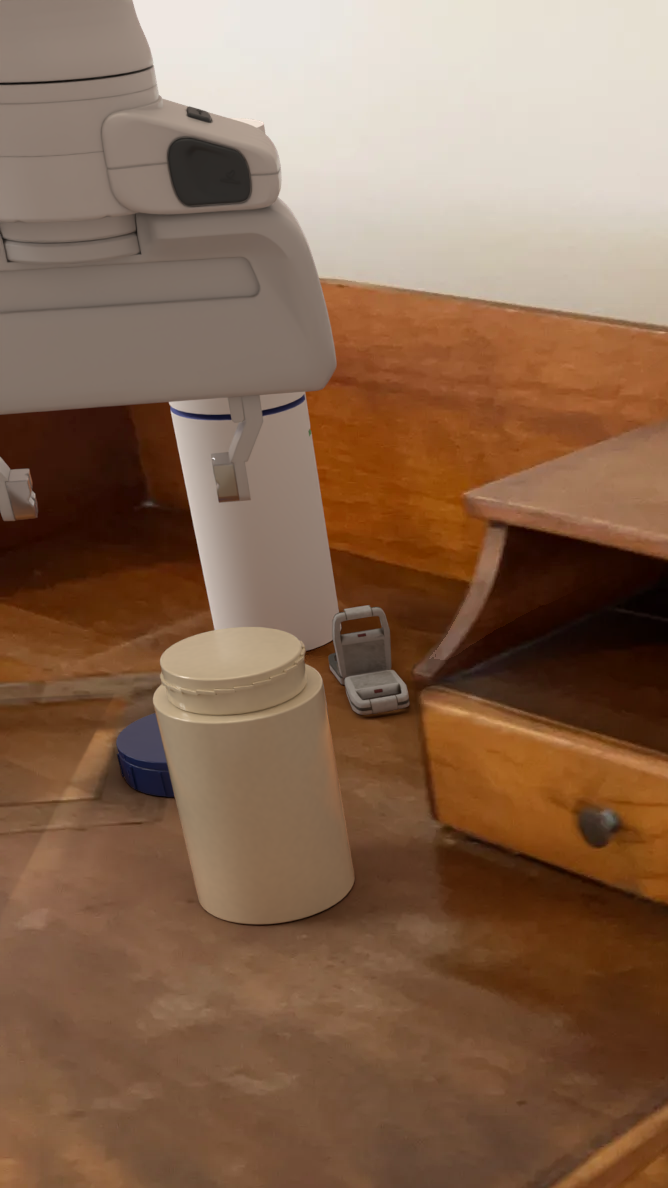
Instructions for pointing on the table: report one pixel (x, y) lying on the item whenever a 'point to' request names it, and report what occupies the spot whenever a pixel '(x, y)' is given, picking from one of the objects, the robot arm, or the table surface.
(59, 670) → the table surface
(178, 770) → the jar
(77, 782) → the table surface
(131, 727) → the lid
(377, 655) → the strap clip
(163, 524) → the table surface
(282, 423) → the cylindrical container
